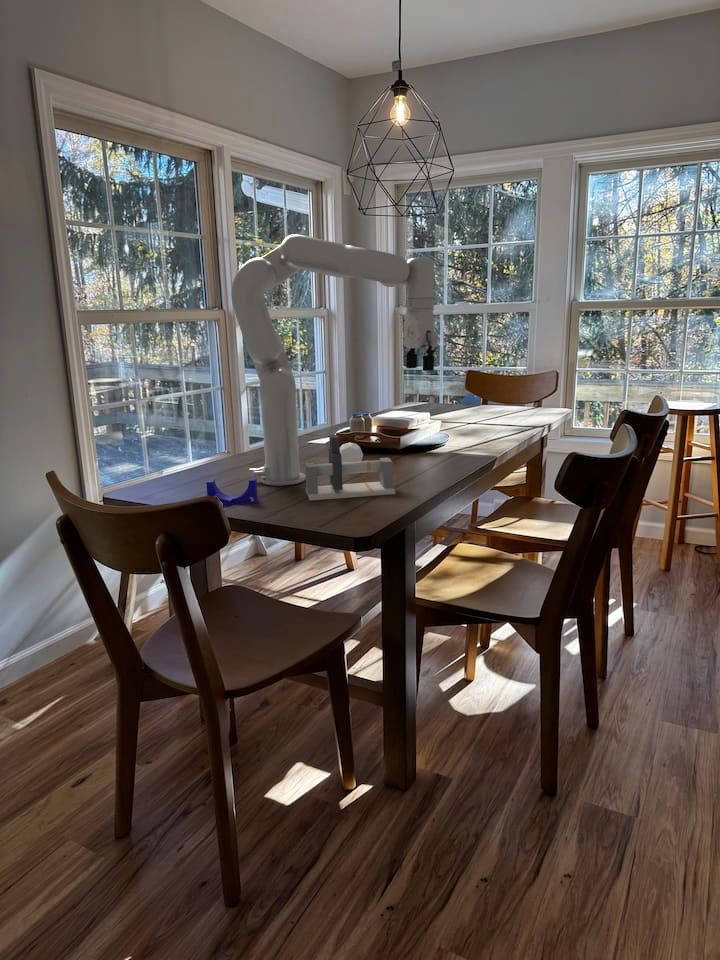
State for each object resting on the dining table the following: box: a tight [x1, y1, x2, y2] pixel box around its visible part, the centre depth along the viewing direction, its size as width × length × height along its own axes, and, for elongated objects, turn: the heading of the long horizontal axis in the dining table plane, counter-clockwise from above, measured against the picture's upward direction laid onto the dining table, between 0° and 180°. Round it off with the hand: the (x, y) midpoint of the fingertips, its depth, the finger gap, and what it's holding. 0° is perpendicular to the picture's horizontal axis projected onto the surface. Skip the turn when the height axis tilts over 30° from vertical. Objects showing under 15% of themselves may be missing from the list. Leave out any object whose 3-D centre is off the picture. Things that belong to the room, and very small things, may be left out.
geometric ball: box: [340, 442, 364, 463], centre depth 202 cm, size 8×8×8 cm
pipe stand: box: [304, 457, 396, 501], centre depth 174 cm, size 22×10×8 cm, turn 100°
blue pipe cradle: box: [205, 477, 259, 507], centre depth 167 cm, size 12×4×6 cm, turn 92°
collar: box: [328, 434, 344, 490], centre depth 172 cm, size 2×9×13 cm, turn 10°
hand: (419, 369), depth 186 cm, fingers open, 9 cm apart
